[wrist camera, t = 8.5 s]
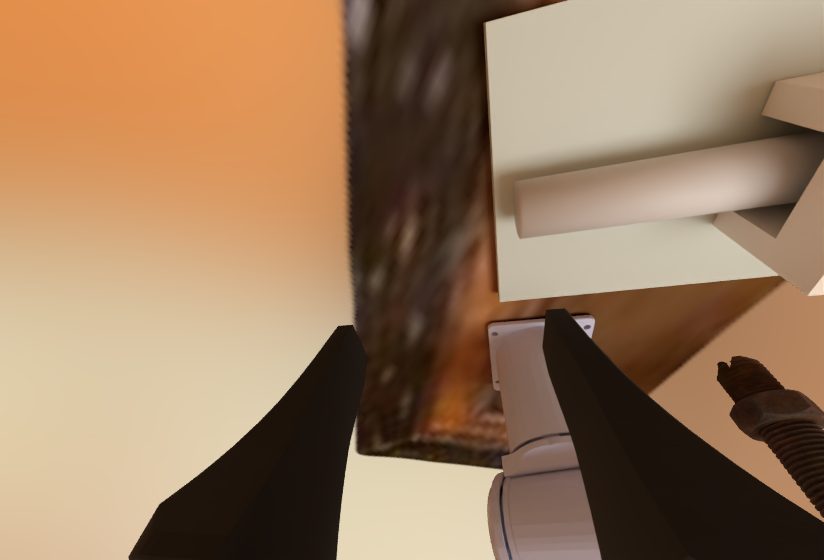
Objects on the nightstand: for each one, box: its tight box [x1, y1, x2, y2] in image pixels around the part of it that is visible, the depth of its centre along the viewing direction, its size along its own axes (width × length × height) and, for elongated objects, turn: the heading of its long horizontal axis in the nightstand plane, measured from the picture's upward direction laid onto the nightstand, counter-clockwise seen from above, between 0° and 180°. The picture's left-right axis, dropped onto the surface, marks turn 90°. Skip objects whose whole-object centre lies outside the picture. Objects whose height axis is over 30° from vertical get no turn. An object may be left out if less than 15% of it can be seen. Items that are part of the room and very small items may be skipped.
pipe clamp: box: [483, 0, 824, 302], centre depth 13 cm, size 16×26×6 cm, turn 102°
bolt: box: [717, 356, 824, 518], centre depth 20 cm, size 6×5×15 cm
